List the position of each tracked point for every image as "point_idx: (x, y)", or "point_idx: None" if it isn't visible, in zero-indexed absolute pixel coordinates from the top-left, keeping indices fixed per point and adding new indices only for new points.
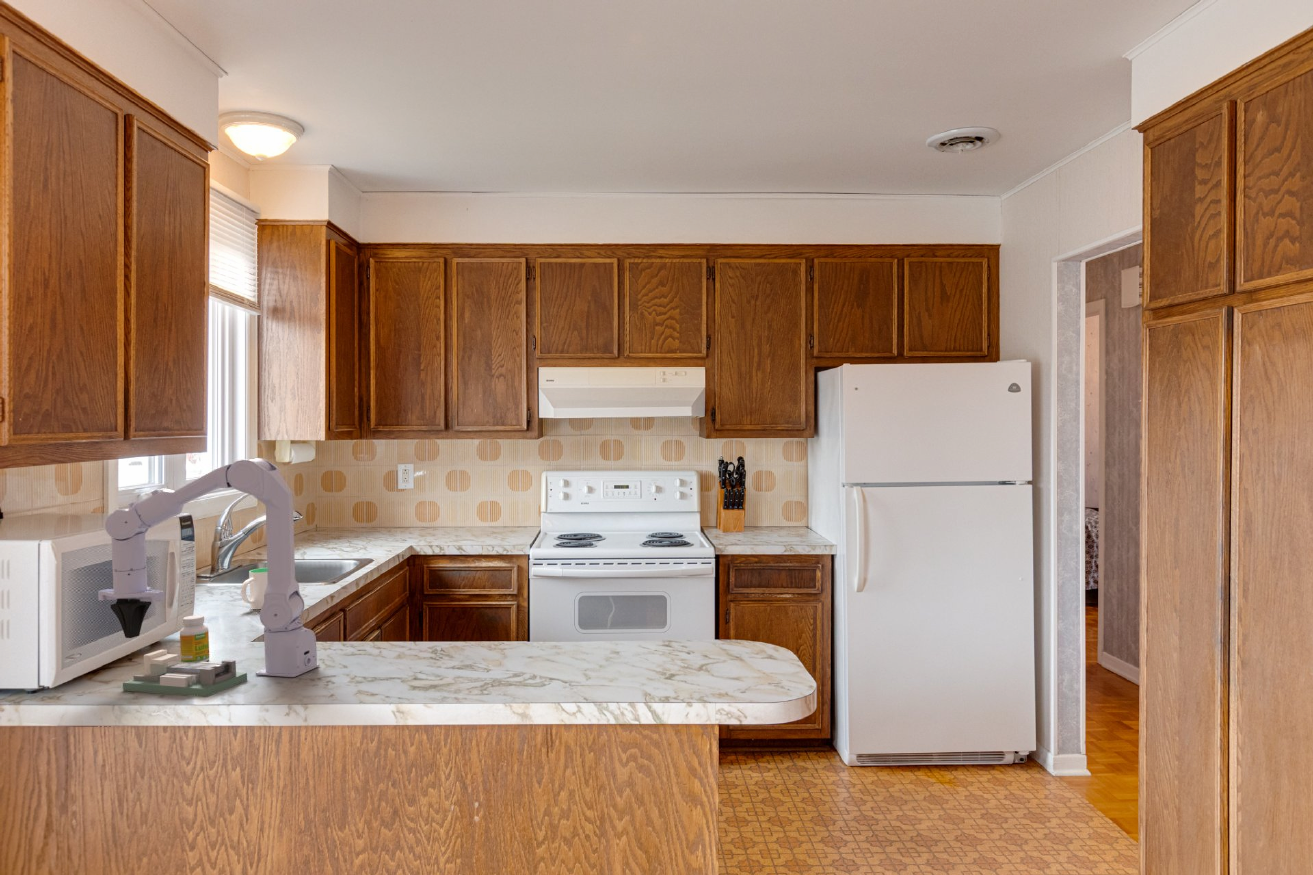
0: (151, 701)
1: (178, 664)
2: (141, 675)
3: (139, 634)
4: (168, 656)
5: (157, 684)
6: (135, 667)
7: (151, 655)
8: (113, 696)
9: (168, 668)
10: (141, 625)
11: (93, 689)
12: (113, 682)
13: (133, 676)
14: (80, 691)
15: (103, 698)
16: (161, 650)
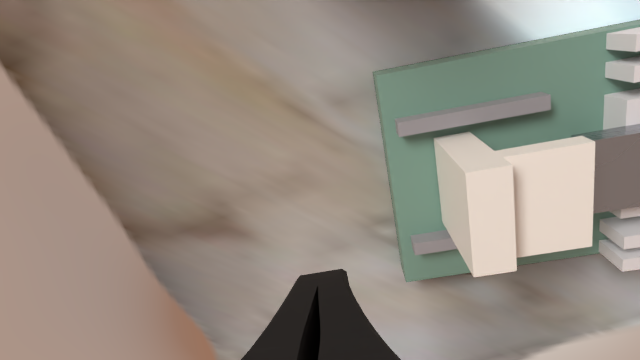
0: (625, 296)
1: (611, 165)
2: (448, 242)
3: (345, 273)
4: (560, 187)
5: (577, 249)
6: (94, 52)
7: (515, 259)
8: (432, 310)
9: (593, 210)
10: (356, 302)
11: (277, 292)
12: (255, 221)
13: (415, 254)
14: (257, 319)
15: (419, 332)
16: (488, 185)
